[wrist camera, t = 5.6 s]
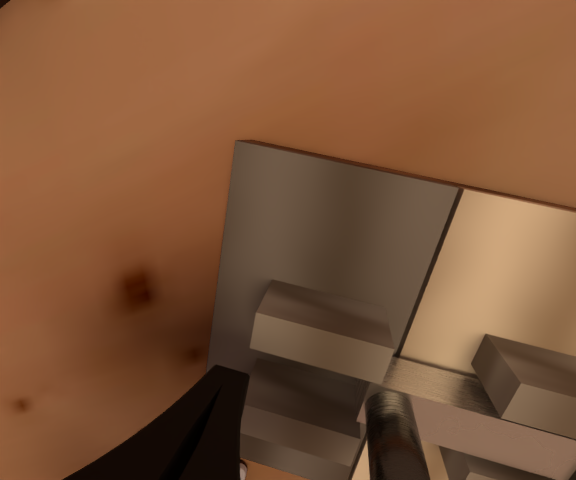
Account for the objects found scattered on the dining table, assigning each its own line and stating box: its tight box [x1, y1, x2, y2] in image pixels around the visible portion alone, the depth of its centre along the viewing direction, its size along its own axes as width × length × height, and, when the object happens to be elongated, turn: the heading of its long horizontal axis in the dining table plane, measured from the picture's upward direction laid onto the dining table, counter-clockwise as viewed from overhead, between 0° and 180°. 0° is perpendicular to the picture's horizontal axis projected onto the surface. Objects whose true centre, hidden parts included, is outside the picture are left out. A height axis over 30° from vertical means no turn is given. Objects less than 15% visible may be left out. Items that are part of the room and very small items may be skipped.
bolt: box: [355, 357, 576, 480], centre depth 11 cm, size 8×2×6 cm, turn 79°
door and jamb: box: [206, 140, 576, 480], centre depth 14 cm, size 18×17×5 cm
